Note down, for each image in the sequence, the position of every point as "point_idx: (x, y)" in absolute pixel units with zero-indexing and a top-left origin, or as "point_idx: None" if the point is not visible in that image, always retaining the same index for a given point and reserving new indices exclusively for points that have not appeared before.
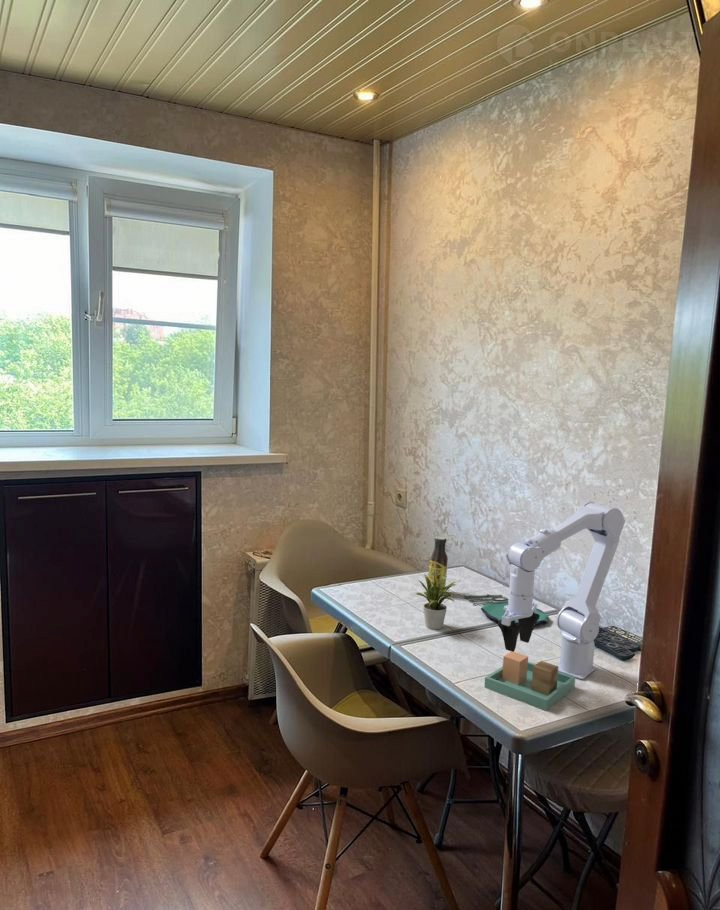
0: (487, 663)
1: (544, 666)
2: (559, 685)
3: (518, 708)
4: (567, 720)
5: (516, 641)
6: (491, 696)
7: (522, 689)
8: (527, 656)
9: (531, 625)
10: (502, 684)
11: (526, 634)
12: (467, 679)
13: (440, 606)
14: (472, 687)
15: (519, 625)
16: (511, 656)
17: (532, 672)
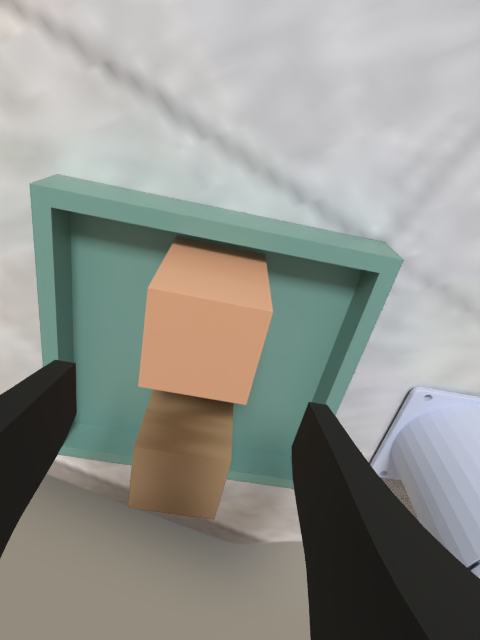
0: (364, 77)
1: (170, 482)
2: (264, 432)
3: (5, 352)
4: (61, 473)
5: (25, 499)
6: (2, 236)
7: (139, 338)
8: (242, 402)
9: (316, 623)
10: (38, 287)
11: (306, 491)
12: (70, 40)
13: None
14: (5, 113)
15: (350, 503)
16: (179, 331)
17: (332, 333)
